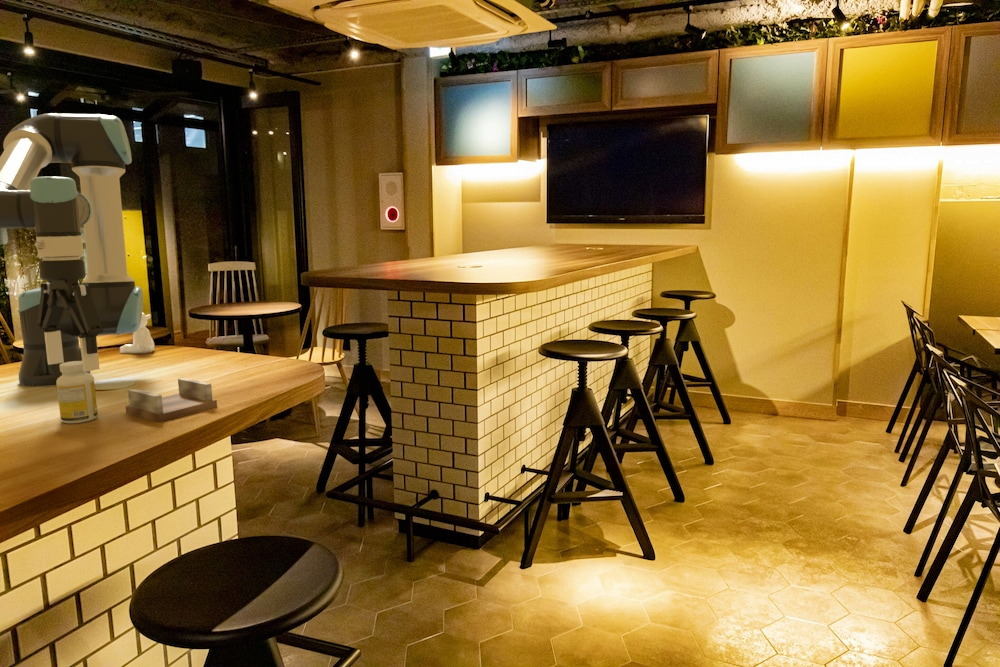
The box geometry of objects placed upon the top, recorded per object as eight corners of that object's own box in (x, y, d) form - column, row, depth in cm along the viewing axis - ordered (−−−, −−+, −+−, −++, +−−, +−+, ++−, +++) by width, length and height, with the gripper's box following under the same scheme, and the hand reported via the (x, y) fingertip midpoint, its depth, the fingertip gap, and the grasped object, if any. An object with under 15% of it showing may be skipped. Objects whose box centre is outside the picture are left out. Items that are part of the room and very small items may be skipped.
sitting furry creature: (149, 347, 218) (145, 309, 216) (165, 350, 214) (162, 310, 212) (118, 353, 211) (114, 312, 209) (135, 356, 206) (131, 315, 204)
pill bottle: (90, 413, 147) (84, 358, 145) (103, 418, 143) (97, 362, 141) (55, 420, 142) (48, 363, 140) (68, 426, 138) (61, 368, 136)
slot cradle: (126, 413, 147) (123, 389, 146) (183, 399, 158) (181, 377, 157) (159, 422, 141) (157, 397, 140) (217, 406, 151) (215, 383, 151)
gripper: (9, 258, 141) (22, 363, 144) (74, 261, 127) (87, 377, 131) (49, 256, 147) (61, 357, 150) (116, 258, 134) (126, 369, 137)
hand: (73, 366), depth 141 cm, fingers open, 13 cm apart
